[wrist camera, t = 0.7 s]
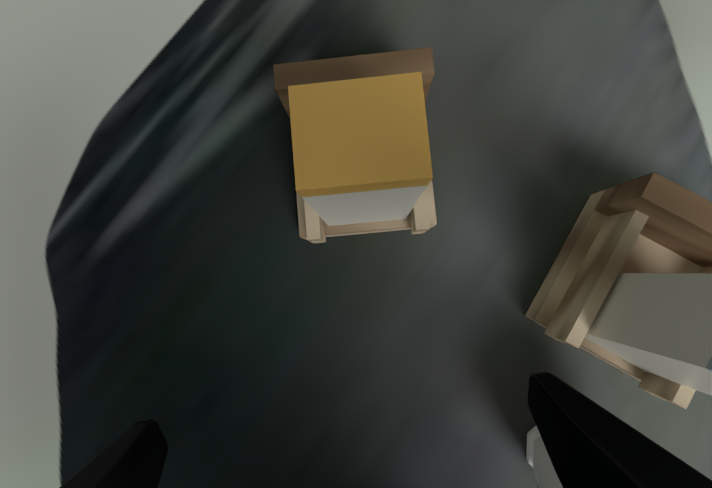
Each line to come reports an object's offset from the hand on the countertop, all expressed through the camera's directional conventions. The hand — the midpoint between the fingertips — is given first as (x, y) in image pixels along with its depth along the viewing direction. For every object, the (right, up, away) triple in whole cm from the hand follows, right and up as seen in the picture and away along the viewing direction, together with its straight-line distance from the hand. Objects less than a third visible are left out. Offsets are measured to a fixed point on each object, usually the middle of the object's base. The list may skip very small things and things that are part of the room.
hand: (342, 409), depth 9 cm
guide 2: (+18, +1, +15) cm, 23 cm away
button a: (+1, +7, +15) cm, 16 cm away
